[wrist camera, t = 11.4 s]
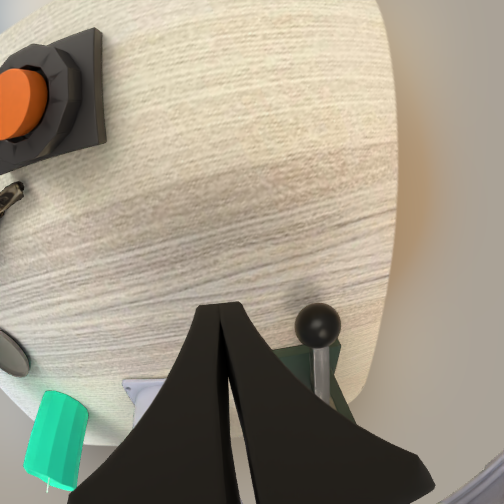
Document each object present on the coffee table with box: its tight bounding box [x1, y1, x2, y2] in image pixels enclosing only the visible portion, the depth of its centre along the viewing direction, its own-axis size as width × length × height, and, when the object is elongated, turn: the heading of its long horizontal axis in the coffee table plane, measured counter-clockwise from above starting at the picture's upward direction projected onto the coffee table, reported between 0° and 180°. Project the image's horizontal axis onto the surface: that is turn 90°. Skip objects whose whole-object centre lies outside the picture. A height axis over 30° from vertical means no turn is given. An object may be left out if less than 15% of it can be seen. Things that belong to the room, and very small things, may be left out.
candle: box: [23, 391, 89, 493], centre depth 18 cm, size 6×6×12 cm
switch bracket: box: [272, 338, 356, 424], centre depth 20 cm, size 8×7×9 cm
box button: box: [0, 68, 48, 140], centre depth 8 cm, size 4×4×2 cm
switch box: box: [0, 28, 106, 175], centre depth 10 cm, size 7×8×3 cm
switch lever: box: [295, 303, 341, 405], centre depth 17 cm, size 13×3×3 cm, turn 2°
